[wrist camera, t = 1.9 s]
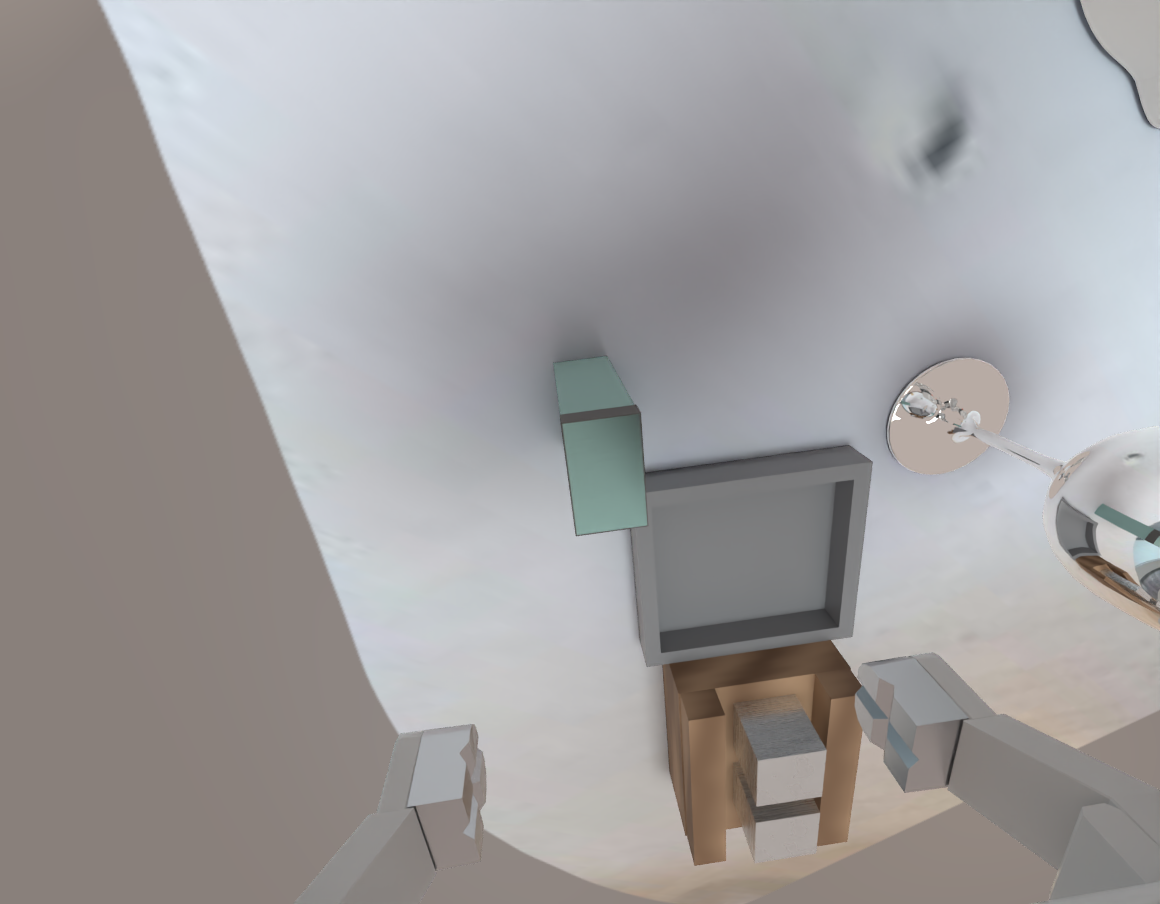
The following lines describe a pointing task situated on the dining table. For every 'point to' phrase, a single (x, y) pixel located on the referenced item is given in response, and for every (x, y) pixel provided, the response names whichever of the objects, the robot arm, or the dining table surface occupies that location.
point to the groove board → (706, 734)
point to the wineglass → (1078, 488)
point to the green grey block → (601, 447)
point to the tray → (750, 554)
